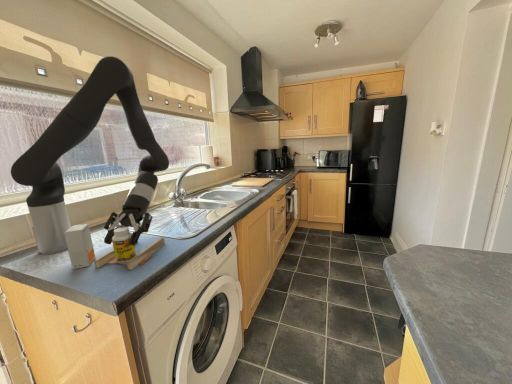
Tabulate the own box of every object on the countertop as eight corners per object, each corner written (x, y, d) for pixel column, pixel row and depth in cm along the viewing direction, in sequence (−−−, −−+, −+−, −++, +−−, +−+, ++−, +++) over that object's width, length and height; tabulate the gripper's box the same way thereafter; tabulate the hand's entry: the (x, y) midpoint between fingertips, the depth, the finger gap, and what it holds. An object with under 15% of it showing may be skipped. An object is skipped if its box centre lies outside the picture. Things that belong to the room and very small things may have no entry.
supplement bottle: (115, 265, 63) (109, 234, 61) (116, 257, 68) (110, 228, 65) (136, 259, 66) (131, 229, 64) (135, 252, 71) (131, 224, 68)
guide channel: (91, 267, 63) (89, 260, 62) (131, 242, 79) (130, 236, 79) (135, 270, 61) (134, 262, 60) (168, 243, 77) (167, 237, 77)
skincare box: (89, 266, 64) (81, 229, 61) (72, 269, 62) (63, 232, 59) (96, 257, 69) (88, 223, 67) (80, 260, 68) (72, 225, 65)
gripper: (113, 193, 71) (89, 239, 62) (151, 193, 68) (132, 240, 60) (127, 204, 77) (107, 247, 68) (163, 204, 75) (147, 248, 66)
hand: (119, 244), depth 64 cm, fingers open, 8 cm apart
